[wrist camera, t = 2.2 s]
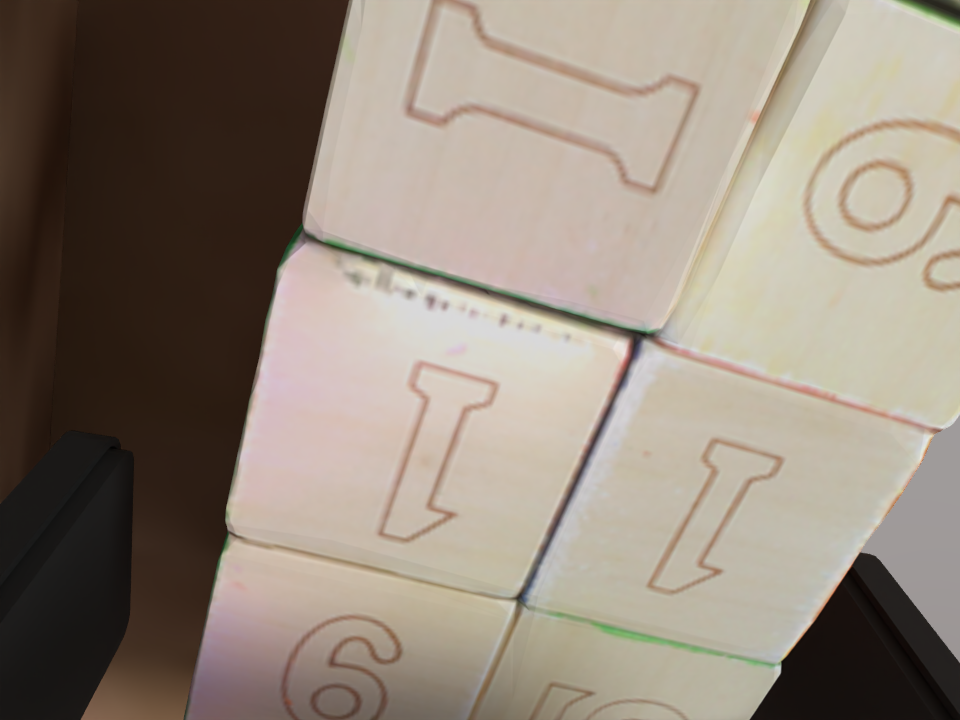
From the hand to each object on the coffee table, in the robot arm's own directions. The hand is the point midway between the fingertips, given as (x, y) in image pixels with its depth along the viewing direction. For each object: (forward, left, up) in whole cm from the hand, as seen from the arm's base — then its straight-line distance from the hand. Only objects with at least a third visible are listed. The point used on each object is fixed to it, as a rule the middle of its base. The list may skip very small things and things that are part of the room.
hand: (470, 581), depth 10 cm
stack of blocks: (0, 0, -10) cm, 10 cm away
